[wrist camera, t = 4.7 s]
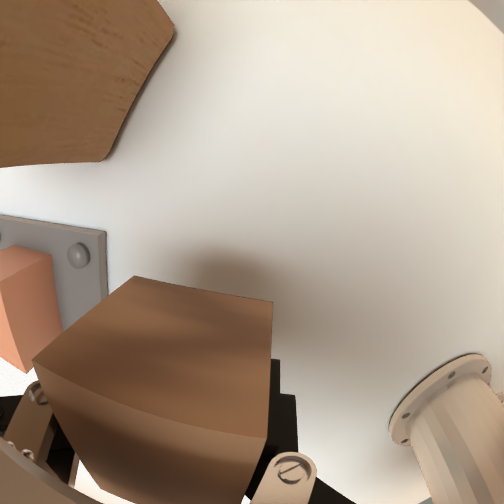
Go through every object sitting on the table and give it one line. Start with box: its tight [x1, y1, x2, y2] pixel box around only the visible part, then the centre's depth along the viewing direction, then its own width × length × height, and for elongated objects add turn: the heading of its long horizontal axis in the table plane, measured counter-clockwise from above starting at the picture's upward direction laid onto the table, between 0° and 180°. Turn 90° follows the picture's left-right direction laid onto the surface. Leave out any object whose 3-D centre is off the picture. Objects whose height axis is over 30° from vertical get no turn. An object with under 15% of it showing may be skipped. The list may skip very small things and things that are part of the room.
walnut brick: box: [31, 276, 273, 504], centre depth 7 cm, size 5×7×6 cm
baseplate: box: [0, 215, 108, 374], centre depth 14 cm, size 14×11×6 cm
